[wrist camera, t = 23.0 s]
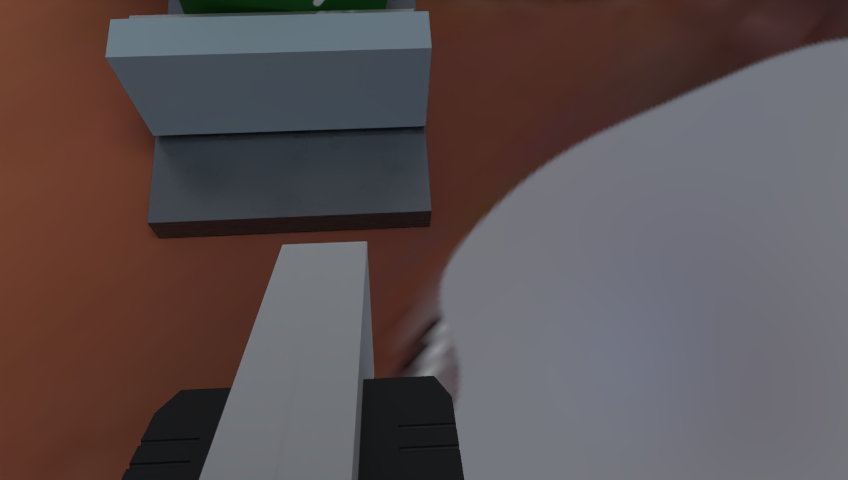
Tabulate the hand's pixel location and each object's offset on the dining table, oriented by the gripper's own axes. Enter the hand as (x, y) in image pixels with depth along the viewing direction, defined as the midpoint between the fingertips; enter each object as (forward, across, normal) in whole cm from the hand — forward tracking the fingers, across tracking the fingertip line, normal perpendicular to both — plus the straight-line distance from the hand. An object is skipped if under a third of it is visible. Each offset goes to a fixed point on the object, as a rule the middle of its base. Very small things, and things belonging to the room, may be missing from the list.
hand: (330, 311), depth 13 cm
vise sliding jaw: (+17, -3, 0) cm, 18 cm away
